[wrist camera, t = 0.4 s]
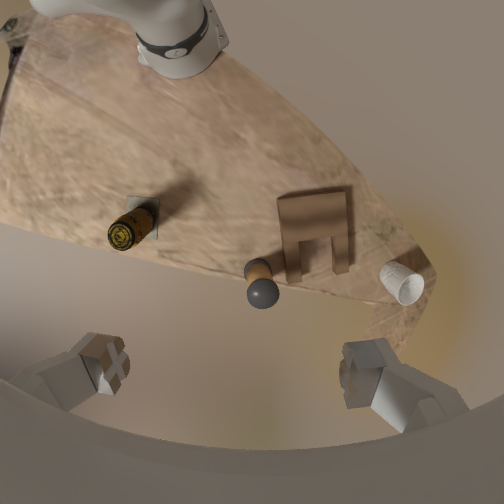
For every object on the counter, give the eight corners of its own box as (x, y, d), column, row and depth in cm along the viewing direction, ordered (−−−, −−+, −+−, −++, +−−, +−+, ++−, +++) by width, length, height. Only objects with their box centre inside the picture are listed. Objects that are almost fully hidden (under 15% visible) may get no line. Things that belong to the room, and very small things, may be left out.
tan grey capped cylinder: (242, 261, 58) (244, 283, 48) (269, 256, 58) (277, 277, 48) (247, 290, 60) (250, 316, 50) (272, 285, 60) (281, 311, 50)
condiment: (125, 235, 54) (102, 253, 43) (127, 196, 51) (103, 205, 40) (157, 238, 55) (140, 258, 44) (159, 199, 52) (142, 209, 41)
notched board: (276, 198, 54) (278, 199, 52) (340, 189, 55) (345, 191, 52) (286, 279, 60) (288, 283, 58) (344, 268, 60) (348, 272, 58)
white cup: (404, 257, 61) (427, 272, 52) (399, 285, 64) (420, 302, 54) (379, 259, 61) (401, 275, 51) (375, 288, 63) (394, 307, 54)
